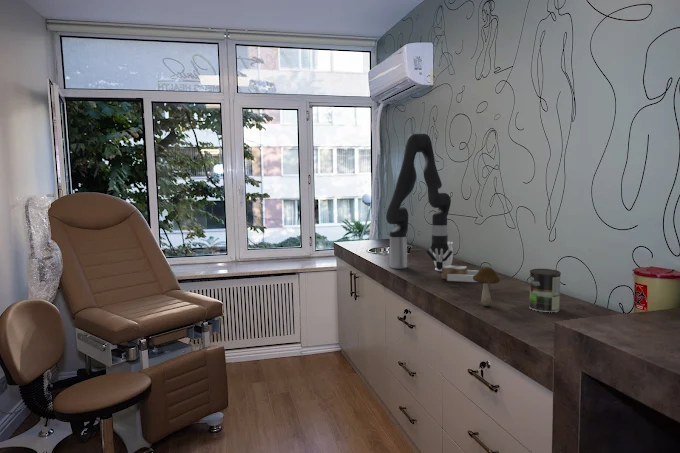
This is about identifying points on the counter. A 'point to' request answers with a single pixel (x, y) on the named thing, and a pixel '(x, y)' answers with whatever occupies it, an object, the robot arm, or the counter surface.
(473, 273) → the bay
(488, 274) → the mushroom
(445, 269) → the brown and white block
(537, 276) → the coffee can
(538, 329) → the counter surface
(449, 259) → the jar
